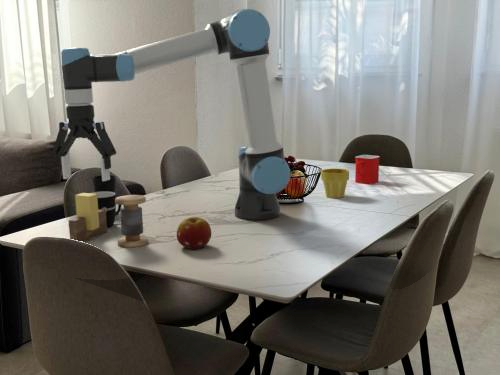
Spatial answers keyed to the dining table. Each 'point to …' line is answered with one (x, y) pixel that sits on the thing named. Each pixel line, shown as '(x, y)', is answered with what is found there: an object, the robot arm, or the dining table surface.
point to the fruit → (194, 233)
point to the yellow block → (88, 209)
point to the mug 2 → (367, 169)
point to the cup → (104, 184)
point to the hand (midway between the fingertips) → (86, 179)
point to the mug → (108, 206)
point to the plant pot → (335, 182)
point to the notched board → (79, 227)
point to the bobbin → (131, 221)
